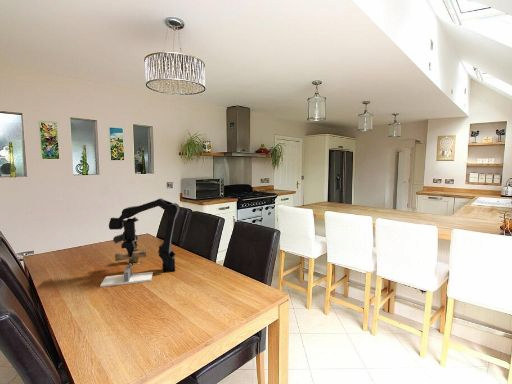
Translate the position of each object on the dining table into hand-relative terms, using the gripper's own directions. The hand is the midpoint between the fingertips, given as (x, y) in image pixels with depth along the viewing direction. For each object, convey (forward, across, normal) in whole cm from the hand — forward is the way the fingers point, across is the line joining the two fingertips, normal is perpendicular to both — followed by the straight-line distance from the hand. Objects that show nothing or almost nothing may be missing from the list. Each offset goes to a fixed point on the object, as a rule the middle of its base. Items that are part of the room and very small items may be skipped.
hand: (130, 255), depth 159 cm
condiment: (+10, -16, -1) cm, 18 cm away
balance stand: (+9, +12, 0) cm, 16 cm away
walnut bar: (+1, 0, 0) cm, 1 cm away
